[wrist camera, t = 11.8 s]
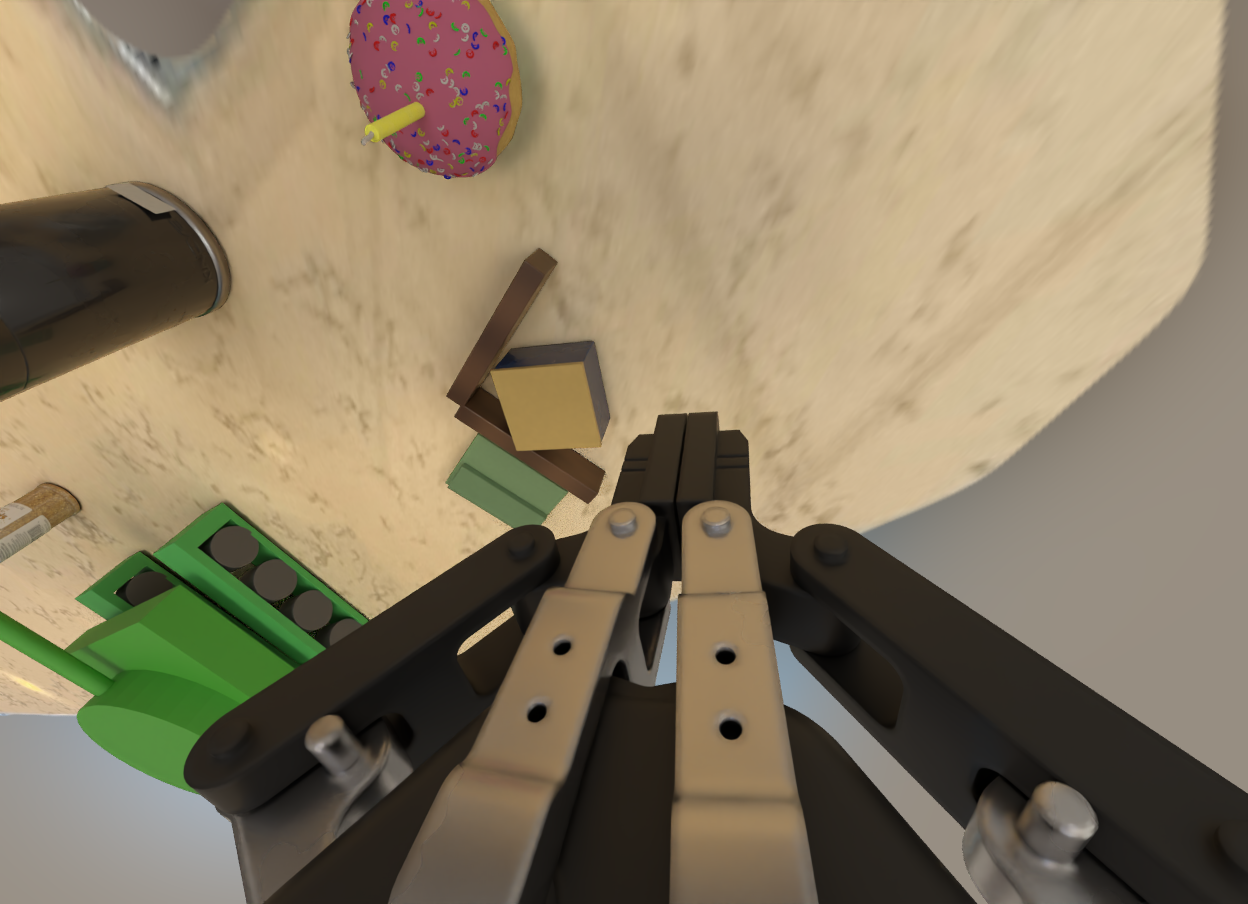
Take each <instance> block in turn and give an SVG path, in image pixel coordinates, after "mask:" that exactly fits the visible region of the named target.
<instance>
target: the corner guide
mask: <svg viewBox="0 0 1248 904" xmlns="http://www.w3.org/2000/svg"><path fill="white" fill-rule="evenodd" d="M557 263H558V262H557V261H556V260H554V259H553V258H552V257H550V256H549V255H548V254H547V253H545V252H544V251H543V250H541V249H540V248H539V249H537V250H536V251H535V252H534V253H533V254H531V255H530V256H529V257H528V258H527V259H526V260H524V262H523V264H522V265H521V267H520V269H519V271H518V272H517V274H516V276H515V278H514V279H513V281H512V283H511V284H510V286H509V288H508V290H507V291H506V293H505V295H504V297H503V298H502V300H501V302H500V303H499V305H498V307H497V309H496V310H495V312H494V314H493V316H492V317H491V319H490V321H489V323H488V324H487V326H486V328H485V329H484V331H483V333H482V335H481V336H480V338H479V340H478V342H477V343H476V345H475V347H474V348H473V350H472V352H471V354H470V355H469V357H468V359H467V361H466V362H465V364H464V366H463V367H462V369H461V371H460V373H459V374H458V376H457V378H456V380H455V381H454V383H453V385H452V386H451V388H450V390H449V392H448V393H447V395H446V397H448V398H449V399H451V400H452V401H454V402H455V403H457V404H458V405H460V407H459V409H458V411H457V412H456V414H455V416H454V417H455V418H457V419H458V420H460V421H461V422H463V423H465V424H466V425H468V426H469V427H471V428H472V429H474V430H475V431H477V432H478V433H480V434H481V435H483V436H484V437H486V438H487V439H489V440H491V441H492V442H494V443H495V444H497V445H498V446H500V447H501V448H503V449H504V450H506V451H507V452H509V453H510V454H512V455H514V456H515V457H517V458H518V459H520V460H521V461H523V462H524V463H526V464H527V465H529V466H530V467H532V468H533V469H535V470H537V471H538V472H540V473H541V474H543V475H544V476H546V477H547V478H549V479H550V480H552V481H553V482H555V483H556V484H558V485H560V486H561V487H563V488H564V489H566V490H567V491H569V492H570V493H572V494H573V495H575V496H576V497H578V498H579V499H581V500H583V501H584V502H586V503H587V504H589V503H590V502H591V501H592V500H593V499H594V498H595V497H596V495H597V494H598V492H599V489H600V486H601V483H602V480H603V477H604V474H605V471H603V470H602V469H600V468H599V467H597V466H596V465H594V464H593V463H591V462H590V461H588V460H587V459H585V458H584V457H582V456H581V455H579V454H578V453H576V452H575V451H573V450H572V449H549V450H527V451H517V450H516V447H515V444H514V442H513V439H512V436H511V433H510V430H509V427H508V424H507V421H506V418H505V415H504V412H503V409H502V406H501V403H500V401H499V400H498V399H496V398H495V397H493V396H492V395H490V394H489V393H487V392H486V391H485V390H483V389H482V388H480V387H481V385H482V383H483V382H484V380H485V379H486V377H487V375H488V374H489V372H490V371H491V369H492V367H493V366H494V364H495V362H496V361H497V359H498V358H499V356H500V354H501V353H502V351H503V350H504V348H505V346H506V345H507V343H508V342H509V340H510V338H511V337H512V335H513V334H514V332H515V330H516V329H517V327H518V326H519V324H520V322H521V321H522V319H523V318H524V316H525V314H526V313H527V311H528V310H529V308H530V306H531V305H532V303H533V302H534V300H535V298H536V297H537V295H538V294H539V292H540V290H541V289H542V287H543V286H544V284H545V282H546V281H547V279H548V277H549V276H550V274H551V273H552V271H553V269H554V268H555V266H556V265H557Z"/></svg>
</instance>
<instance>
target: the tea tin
mask: <svg viewBox="0 0 1248 904" xmlns="http://www.w3.org/2000/svg"><path fill="white" fill-rule="evenodd" d="M490 373H491V376H492V379H493V382H494V385H495V388H496V391H497V394H498V397H499V400H500V403H501V406H502V409H503V412H504V415H505V418H506V421H507V424H508V427H509V430H510V433H511V436H512V439H513V442H514V444H515V447H516V450H517V451H527V450H549V449H571V448H593V447H601V445H602V443H601V442H602V439H603V436H604V434H605V431H606V428H607V426H608V423H609V420H610V414H609V410H608V405H607V400H606V395H605V391H604V386H603V381H602V376H601V372H600V367H599V362H598V357H597V353H596V348H595V343H594V341H587V342H577V343H566V344H556V345H545V346H535V347H525V348H514V349H510V351H509V352H508V353H507V354H506V355H505V356H504V358H503V359H502V360H501V361H500V362H499V364H498V365H497V366H496V367H495V368H494V369H492V370H491V371H490Z"/></svg>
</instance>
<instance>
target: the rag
mask: <svg viewBox="0 0 1248 904" xmlns="http://www.w3.org/2000/svg"><path fill="white" fill-rule="evenodd" d="M446 484H448V485H449V486H448V488H449V489H451V490H452V491H454V492H456V493H457V494H459V495H460V496H462V497H464V498H465V499H467V500H469V501H470V502H472V503H473V504H475V505H477V506H478V507H480V508H482V509H483V510H485V511H486V512H488V513H490V514H491V515H493V516H495V517H496V518H498V519H499V520H501V521H503V522H504V523H506V524H508V525H509V526H511V527H512V528H516V527H520V526H524V525H531V524H533V525H541V524H542V523H543V522H544V521H545V520H546V518H547V515H548V514H549V513H550V512H551V511H552V510H553V508H554V507H555V506H556V505H557V504H558V503H559V502H560V501H561V500H562V499H563V497H564V496H565V495H566V494H567V493H568V491H567V490H566V489H564V488H563V487H561V486H560V485H558V484H556V483H555V482H553V481H552V480H550V479H549V478H547V477H546V476H544V475H543V474H541V473H540V472H538V471H537V470H535V469H533V468H532V467H530V466H529V465H527V464H526V463H524V462H523V461H521V460H520V459H518V458H517V457H515V456H514V455H512V454H510V453H509V452H507V451H506V450H504V449H503V448H501V447H500V446H498V445H497V444H495V443H494V442H492V441H491V440H489V439H487V438H486V437H484V436H483V435H481V434H480V433H478V434H477V436H476V437H475V439H474V440H473V442H472V443H471V445H470V446H469V448H468V449H467V451H466V452H465V454H464V455H463V457H462V458H461V460H460V461H459V463H458V464H457V466H456V467H455V469H454V470H453V472H452V473H451V475H450V476H449V478H448V479H447V481H446Z"/></svg>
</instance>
